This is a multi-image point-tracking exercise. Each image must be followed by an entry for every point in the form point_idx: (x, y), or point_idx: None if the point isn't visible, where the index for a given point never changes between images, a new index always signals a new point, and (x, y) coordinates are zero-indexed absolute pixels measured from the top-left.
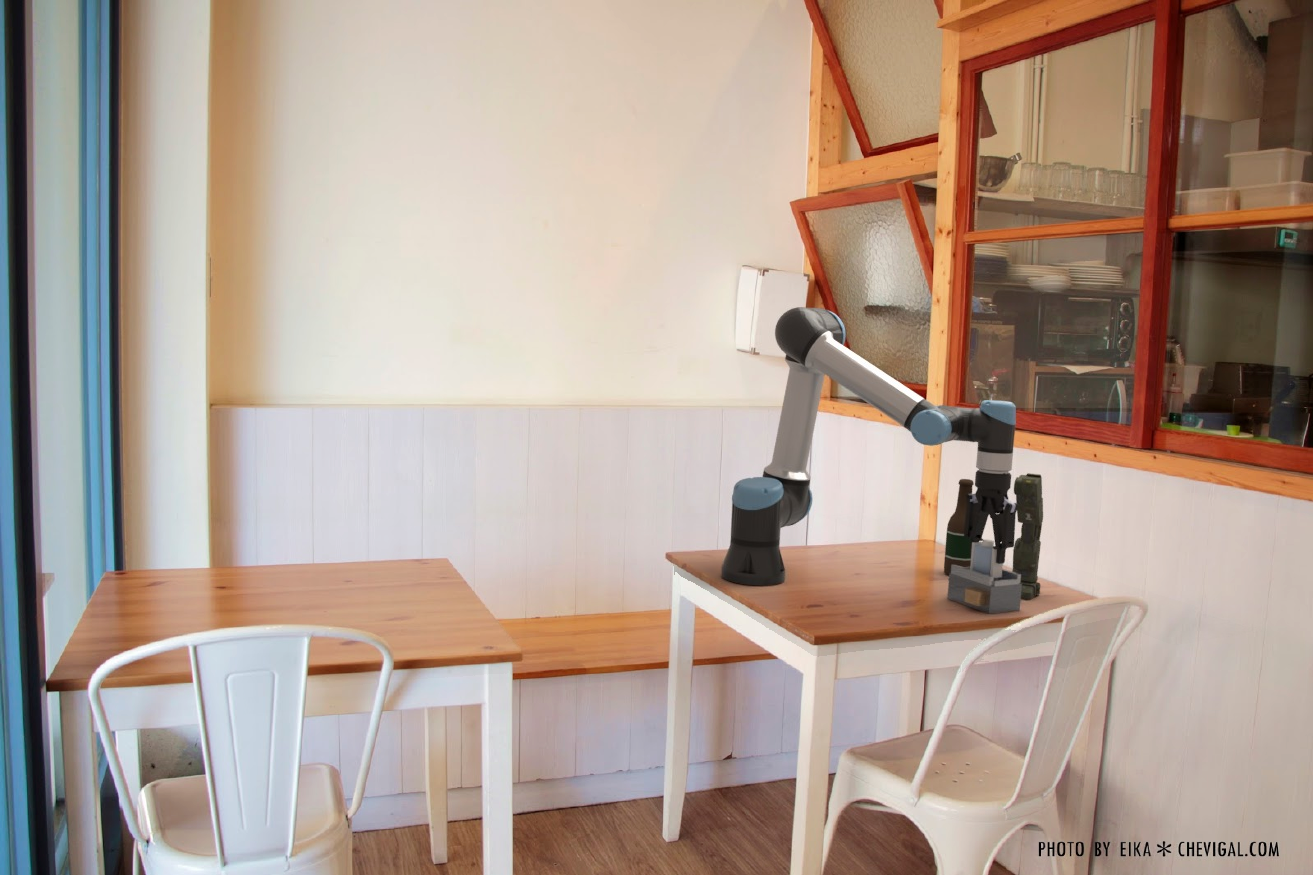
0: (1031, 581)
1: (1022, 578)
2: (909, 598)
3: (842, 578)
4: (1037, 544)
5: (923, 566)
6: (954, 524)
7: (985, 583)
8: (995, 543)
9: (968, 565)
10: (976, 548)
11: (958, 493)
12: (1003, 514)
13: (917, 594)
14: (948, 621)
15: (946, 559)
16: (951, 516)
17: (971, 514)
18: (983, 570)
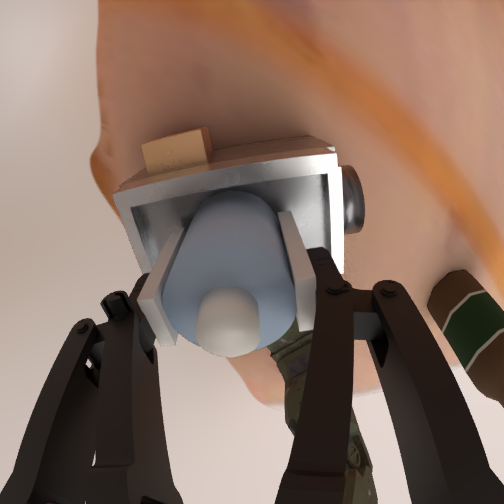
0: (281, 361)
1: (296, 354)
2: (332, 34)
3: (491, 37)
4: None
5: (500, 261)
6: None
7: (142, 180)
8: (129, 323)
9: (441, 312)
10: (232, 247)
11: None
12: (33, 477)
13: (367, 82)
14: (106, 33)
15: (478, 287)
16: None
17: (419, 425)
18: (195, 218)
